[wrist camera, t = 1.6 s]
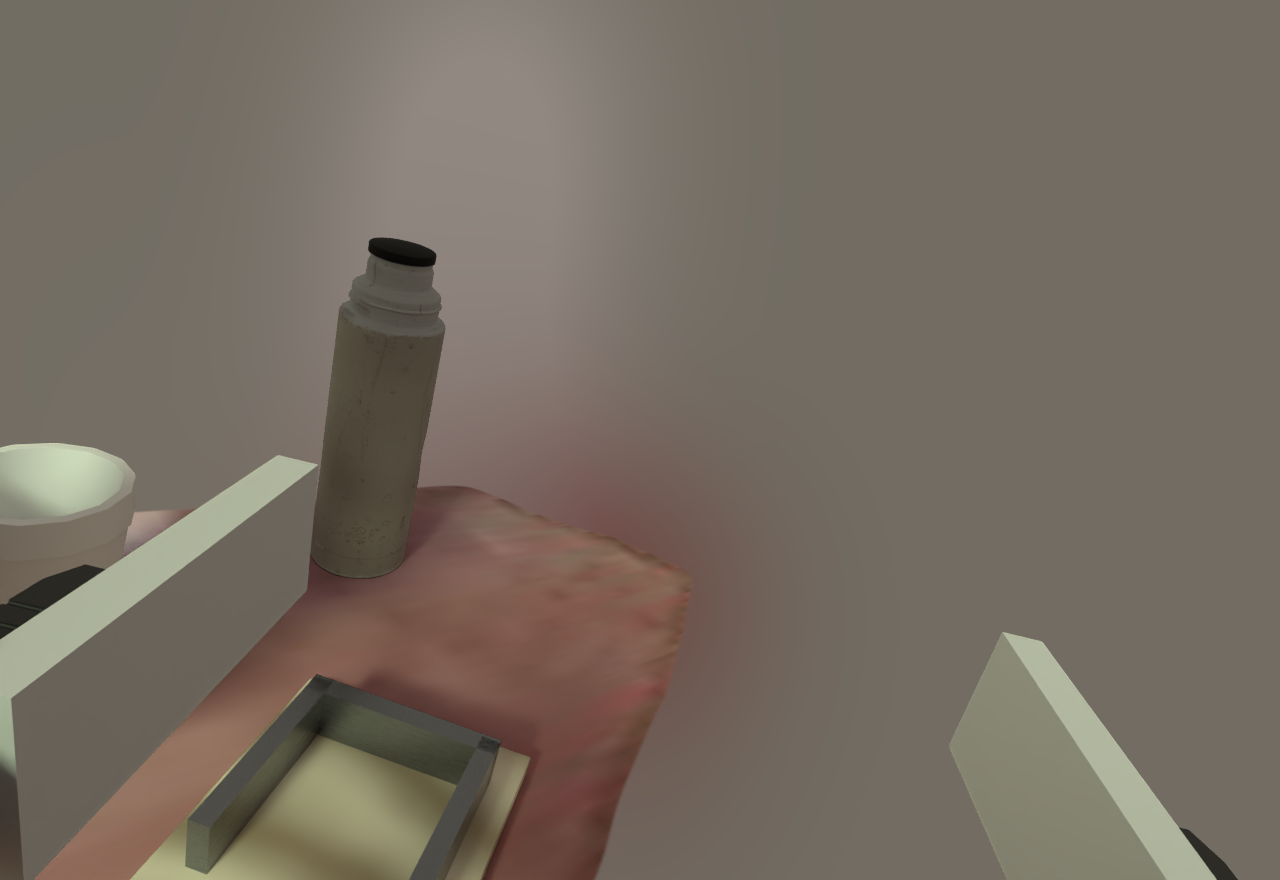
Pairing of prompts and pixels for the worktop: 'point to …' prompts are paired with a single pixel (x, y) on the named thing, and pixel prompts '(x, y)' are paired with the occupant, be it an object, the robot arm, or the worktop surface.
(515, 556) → the worktop surface
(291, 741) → the bracket
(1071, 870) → the robot arm
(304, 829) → the board
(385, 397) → the thermos bottle
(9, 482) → the foam cup
